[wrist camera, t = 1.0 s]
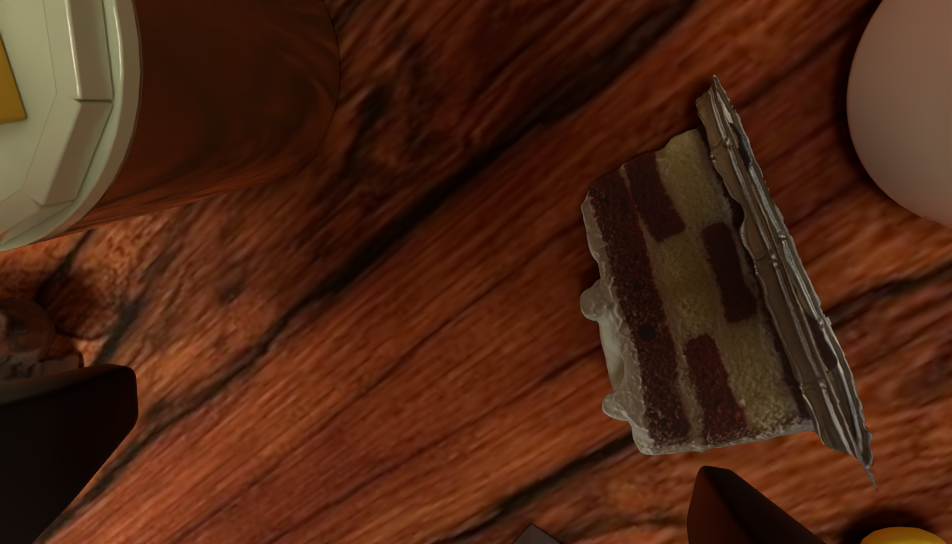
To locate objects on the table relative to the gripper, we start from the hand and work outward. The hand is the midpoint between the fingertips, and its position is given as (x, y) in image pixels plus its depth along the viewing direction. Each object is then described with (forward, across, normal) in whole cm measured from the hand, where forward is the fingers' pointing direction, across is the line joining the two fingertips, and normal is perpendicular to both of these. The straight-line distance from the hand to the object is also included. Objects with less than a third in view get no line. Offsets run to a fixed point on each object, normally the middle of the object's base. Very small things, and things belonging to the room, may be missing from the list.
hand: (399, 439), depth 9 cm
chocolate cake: (+13, -7, 0) cm, 15 cm away
